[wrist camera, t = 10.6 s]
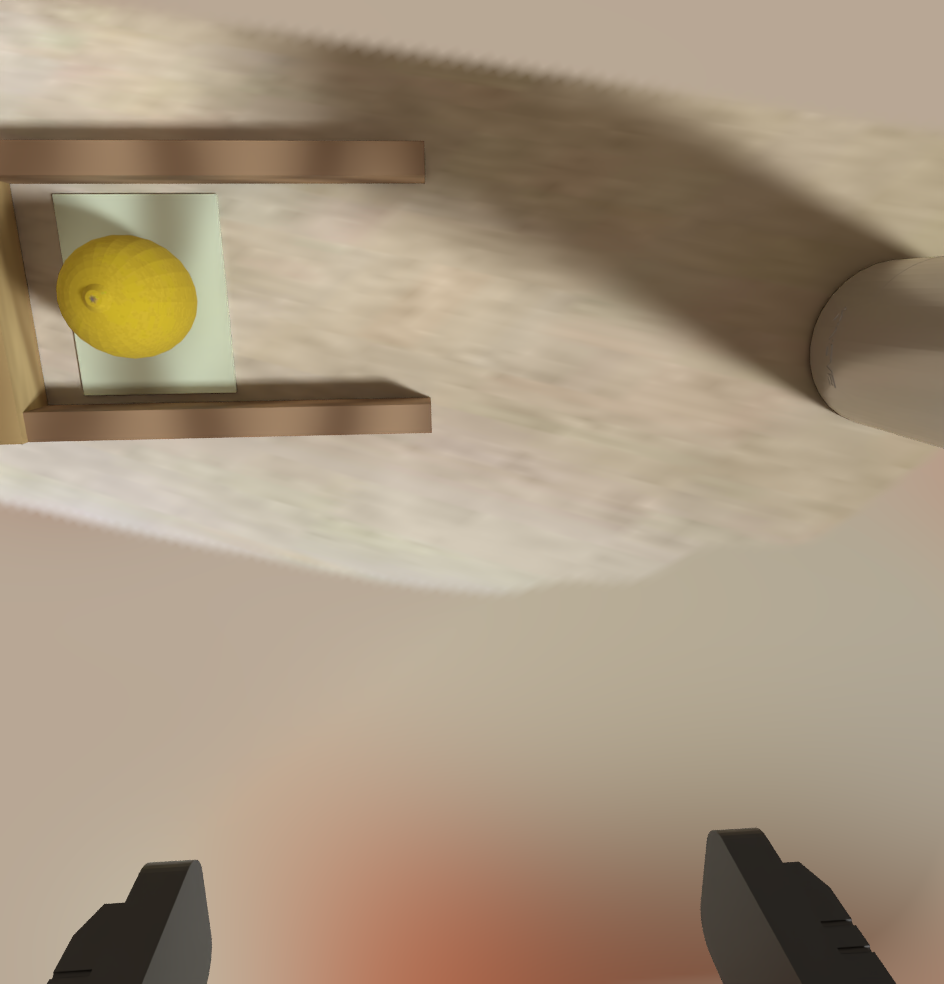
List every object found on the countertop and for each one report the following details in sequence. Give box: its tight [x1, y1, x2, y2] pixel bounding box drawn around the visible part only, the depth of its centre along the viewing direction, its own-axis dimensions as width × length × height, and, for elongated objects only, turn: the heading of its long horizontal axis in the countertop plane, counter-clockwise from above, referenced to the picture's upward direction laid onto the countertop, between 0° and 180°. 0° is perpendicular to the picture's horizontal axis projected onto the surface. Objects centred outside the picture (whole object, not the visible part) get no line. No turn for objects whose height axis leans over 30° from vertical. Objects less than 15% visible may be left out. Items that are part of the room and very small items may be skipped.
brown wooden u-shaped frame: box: [0, 140, 432, 445], centre depth 35 cm, size 22×14×3 cm, turn 91°
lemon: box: [56, 235, 198, 359], centre depth 33 cm, size 6×6×8 cm
